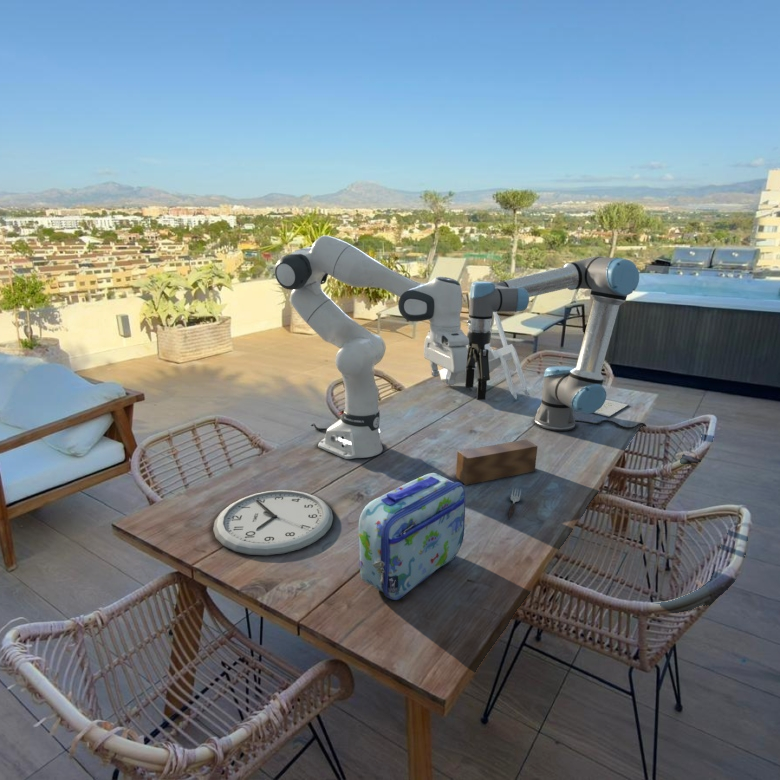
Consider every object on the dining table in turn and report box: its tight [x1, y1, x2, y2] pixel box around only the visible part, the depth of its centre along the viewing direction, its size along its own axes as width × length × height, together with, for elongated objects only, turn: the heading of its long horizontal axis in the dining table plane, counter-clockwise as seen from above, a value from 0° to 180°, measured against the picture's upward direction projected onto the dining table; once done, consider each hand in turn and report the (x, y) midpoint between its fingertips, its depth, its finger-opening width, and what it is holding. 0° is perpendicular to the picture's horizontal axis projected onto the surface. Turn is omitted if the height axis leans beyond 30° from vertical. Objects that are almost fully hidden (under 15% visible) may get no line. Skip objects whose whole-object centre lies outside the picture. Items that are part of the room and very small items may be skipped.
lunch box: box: [358, 472, 466, 601], centre depth 112 cm, size 26×11×21 cm, turn 134°
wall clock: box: [212, 489, 334, 556], centre depth 134 cm, size 30×2×30 cm
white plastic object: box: [438, 312, 531, 400], centre depth 245 cm, size 37×45×31 cm
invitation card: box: [593, 399, 629, 418], centre depth 226 cm, size 21×1×15 cm
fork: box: [508, 487, 522, 521], centre depth 143 cm, size 3×16×2 cm, turn 160°
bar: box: [455, 439, 538, 486], centre depth 161 cm, size 25×6×9 cm, turn 113°
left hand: (442, 380), depth 156 cm, fingers open, 8 cm apart
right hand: (474, 393), depth 175 cm, fingers open, 13 cm apart
